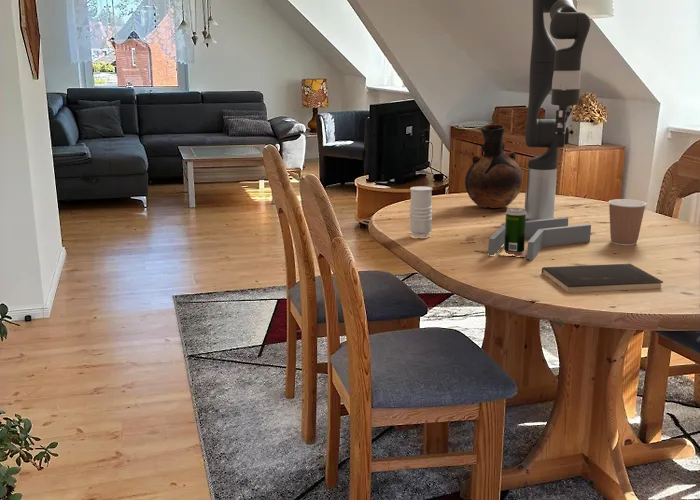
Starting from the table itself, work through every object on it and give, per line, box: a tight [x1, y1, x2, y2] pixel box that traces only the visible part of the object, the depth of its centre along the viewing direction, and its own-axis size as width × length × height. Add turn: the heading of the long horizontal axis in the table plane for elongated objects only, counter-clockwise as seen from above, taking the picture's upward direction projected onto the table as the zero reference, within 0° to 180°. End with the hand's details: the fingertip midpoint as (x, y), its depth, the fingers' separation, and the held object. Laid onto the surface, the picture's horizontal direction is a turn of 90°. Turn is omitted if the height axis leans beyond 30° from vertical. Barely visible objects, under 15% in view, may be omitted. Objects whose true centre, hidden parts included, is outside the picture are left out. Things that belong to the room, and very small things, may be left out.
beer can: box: [503, 207, 527, 255], centre depth 194 cm, size 5×5×12 cm
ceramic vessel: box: [464, 123, 524, 209], centre depth 255 cm, size 21×18×30 cm
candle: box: [408, 186, 433, 237], centre depth 214 cm, size 7×7×15 cm
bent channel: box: [487, 216, 592, 261], centre depth 202 cm, size 23×36×5 cm, turn 111°
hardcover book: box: [541, 263, 664, 293], centre depth 171 cm, size 16×23×2 cm
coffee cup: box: [608, 198, 647, 247], centre depth 205 cm, size 10×10×12 cm
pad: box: [512, 249, 527, 258], centre depth 196 cm, size 7×7×1 cm
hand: (562, 145), depth 202 cm, fingers open, 8 cm apart
